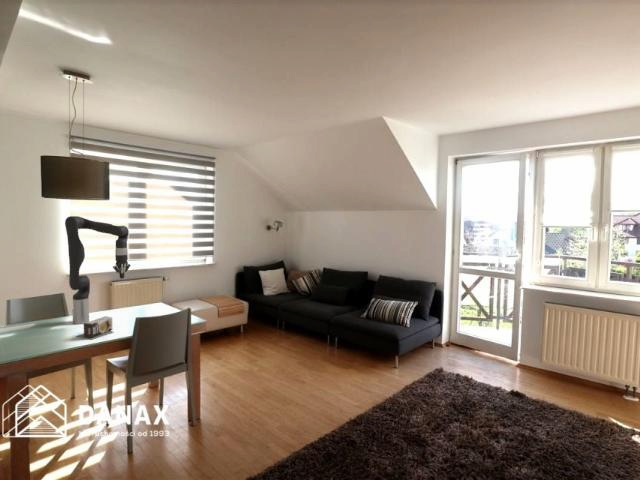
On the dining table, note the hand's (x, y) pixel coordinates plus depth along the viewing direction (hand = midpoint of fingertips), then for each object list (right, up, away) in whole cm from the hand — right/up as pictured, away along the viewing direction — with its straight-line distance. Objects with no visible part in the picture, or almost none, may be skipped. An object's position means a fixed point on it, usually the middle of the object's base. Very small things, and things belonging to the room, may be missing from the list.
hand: (122, 278), depth 251 cm
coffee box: (0, -28, -15) cm, 32 cm away
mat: (-4, -34, -23) cm, 41 cm away
